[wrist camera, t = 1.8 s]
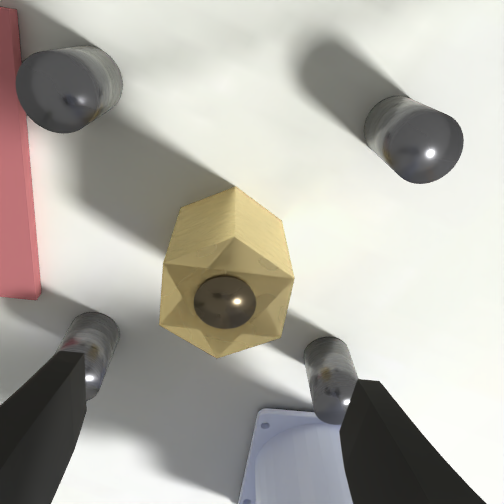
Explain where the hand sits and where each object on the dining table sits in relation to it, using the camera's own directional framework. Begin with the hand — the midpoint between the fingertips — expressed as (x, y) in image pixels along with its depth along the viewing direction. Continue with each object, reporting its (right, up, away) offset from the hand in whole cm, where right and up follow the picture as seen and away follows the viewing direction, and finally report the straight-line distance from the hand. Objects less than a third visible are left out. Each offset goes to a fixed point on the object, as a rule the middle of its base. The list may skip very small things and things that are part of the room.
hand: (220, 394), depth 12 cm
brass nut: (0, +4, +8) cm, 9 cm away
